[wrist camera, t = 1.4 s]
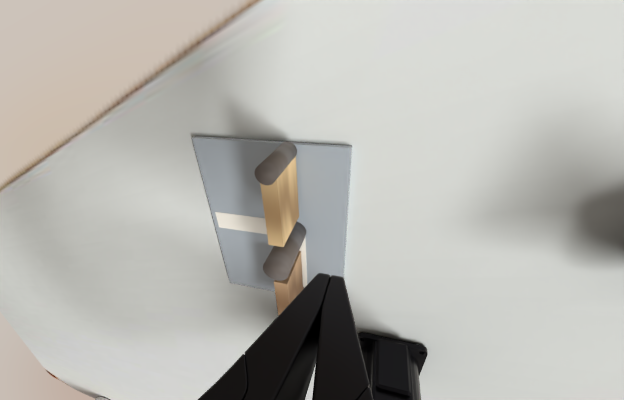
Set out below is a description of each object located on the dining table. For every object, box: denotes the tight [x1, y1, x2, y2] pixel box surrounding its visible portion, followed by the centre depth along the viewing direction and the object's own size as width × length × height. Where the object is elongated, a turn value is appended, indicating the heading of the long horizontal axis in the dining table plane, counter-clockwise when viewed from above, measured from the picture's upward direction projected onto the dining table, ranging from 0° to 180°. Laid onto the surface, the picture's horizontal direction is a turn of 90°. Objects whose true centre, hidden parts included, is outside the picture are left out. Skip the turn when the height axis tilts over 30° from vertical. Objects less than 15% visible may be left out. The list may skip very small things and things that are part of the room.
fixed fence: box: [263, 222, 306, 316], centre depth 20 cm, size 8×2×5 cm, turn 1°
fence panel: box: [255, 141, 299, 247], centre depth 16 cm, size 6×1×4 cm, turn 1°
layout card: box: [192, 136, 352, 291], centre depth 21 cm, size 15×11×1 cm
